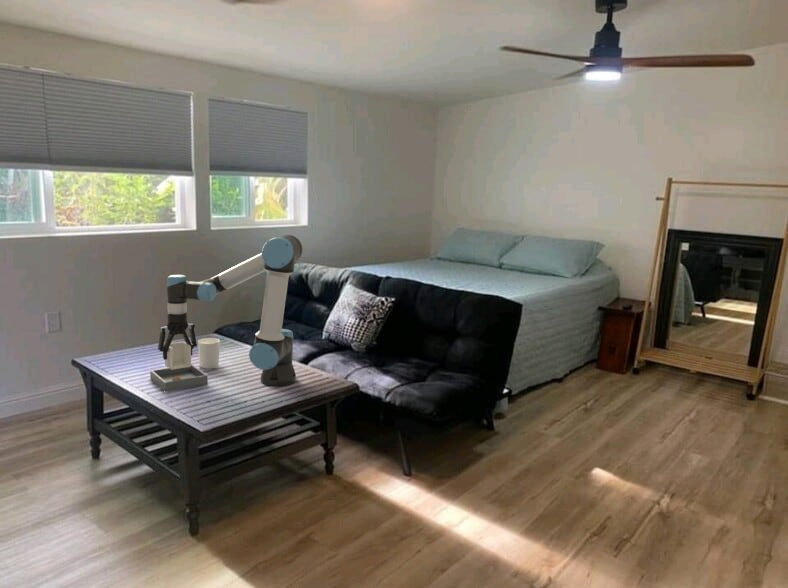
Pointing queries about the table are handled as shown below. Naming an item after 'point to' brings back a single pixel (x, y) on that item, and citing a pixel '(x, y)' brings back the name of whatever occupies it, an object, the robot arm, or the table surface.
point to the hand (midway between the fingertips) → (178, 364)
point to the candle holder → (209, 352)
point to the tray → (187, 378)
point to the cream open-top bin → (179, 355)
